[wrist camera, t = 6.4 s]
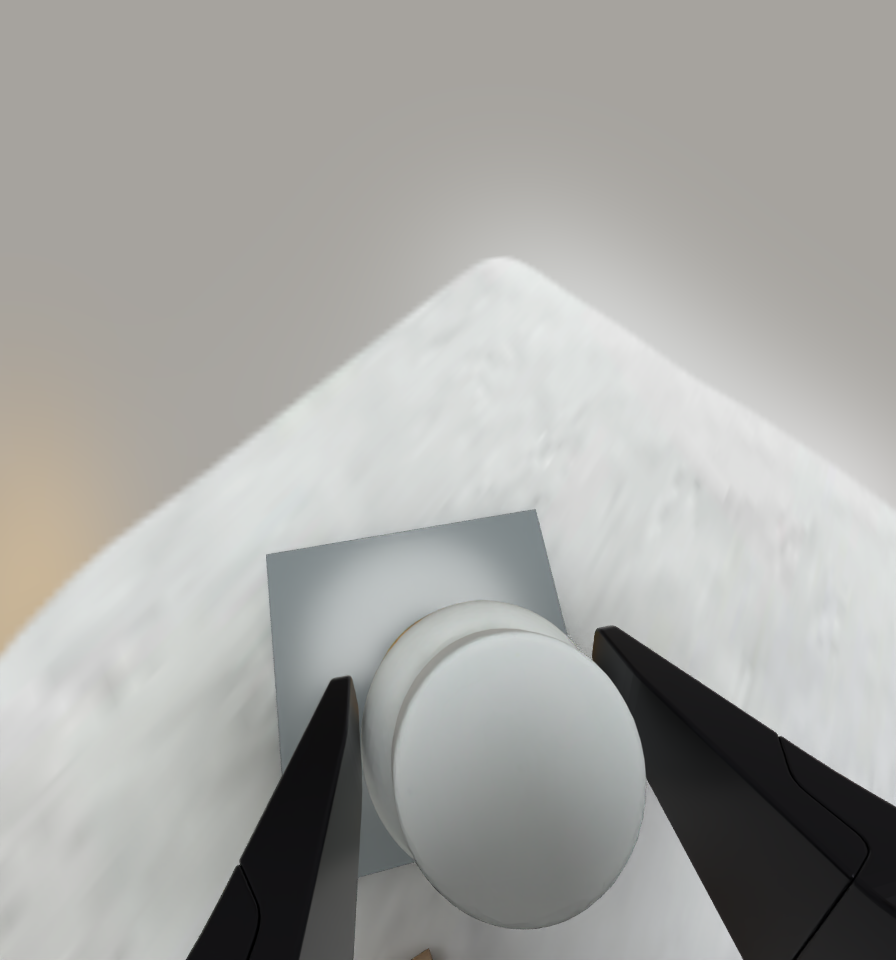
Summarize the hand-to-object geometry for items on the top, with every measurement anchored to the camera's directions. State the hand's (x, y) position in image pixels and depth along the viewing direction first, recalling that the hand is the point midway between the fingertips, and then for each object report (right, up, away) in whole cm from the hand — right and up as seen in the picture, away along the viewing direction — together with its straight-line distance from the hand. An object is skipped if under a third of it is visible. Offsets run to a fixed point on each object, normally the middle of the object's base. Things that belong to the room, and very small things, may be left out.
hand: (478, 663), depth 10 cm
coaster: (-2, -5, +12) cm, 13 cm away
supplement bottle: (0, -3, +6) cm, 7 cm away
